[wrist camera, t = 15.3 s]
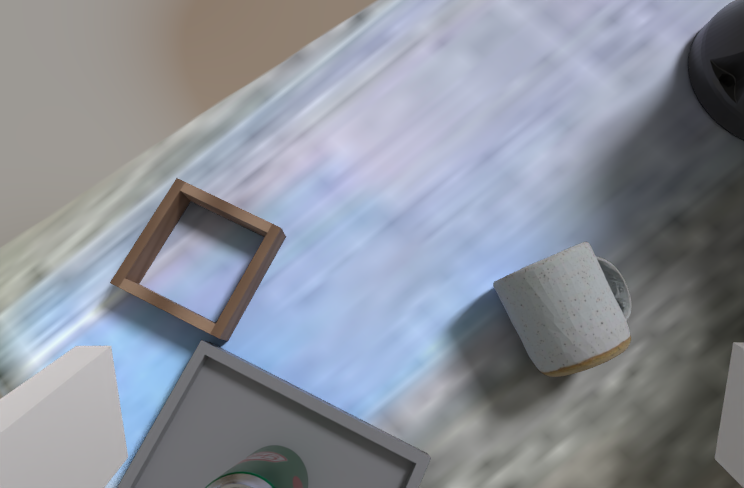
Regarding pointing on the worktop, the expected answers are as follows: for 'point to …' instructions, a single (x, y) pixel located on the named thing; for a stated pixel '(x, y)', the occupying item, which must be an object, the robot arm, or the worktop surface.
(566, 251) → the ceramic mug
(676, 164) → the worktop surface
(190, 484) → the grey tray
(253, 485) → the soda can
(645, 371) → the worktop surface
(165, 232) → the walnut collar
